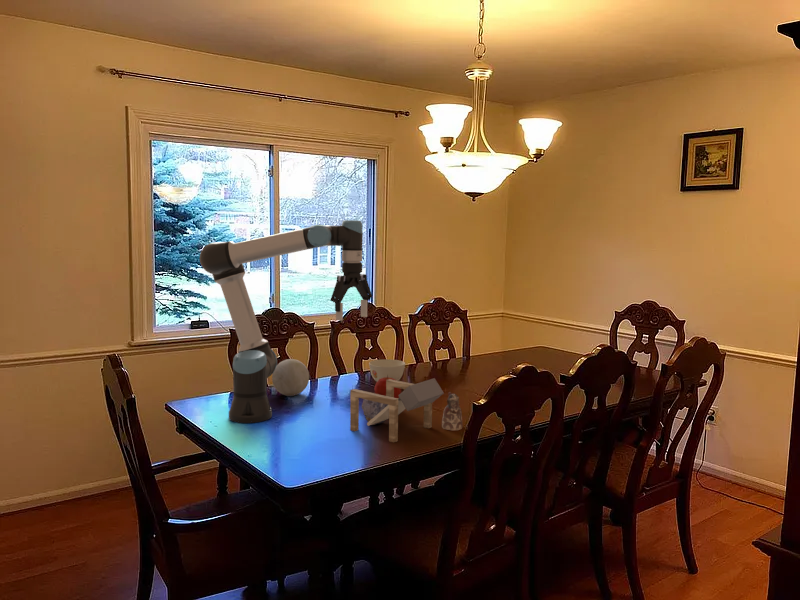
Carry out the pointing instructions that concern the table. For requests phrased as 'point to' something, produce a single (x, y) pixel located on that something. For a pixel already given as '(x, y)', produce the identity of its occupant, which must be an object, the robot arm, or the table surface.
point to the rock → (372, 409)
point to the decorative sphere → (290, 377)
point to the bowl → (386, 369)
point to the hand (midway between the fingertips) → (351, 318)
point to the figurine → (452, 414)
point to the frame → (386, 399)
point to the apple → (381, 387)
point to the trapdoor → (412, 398)
